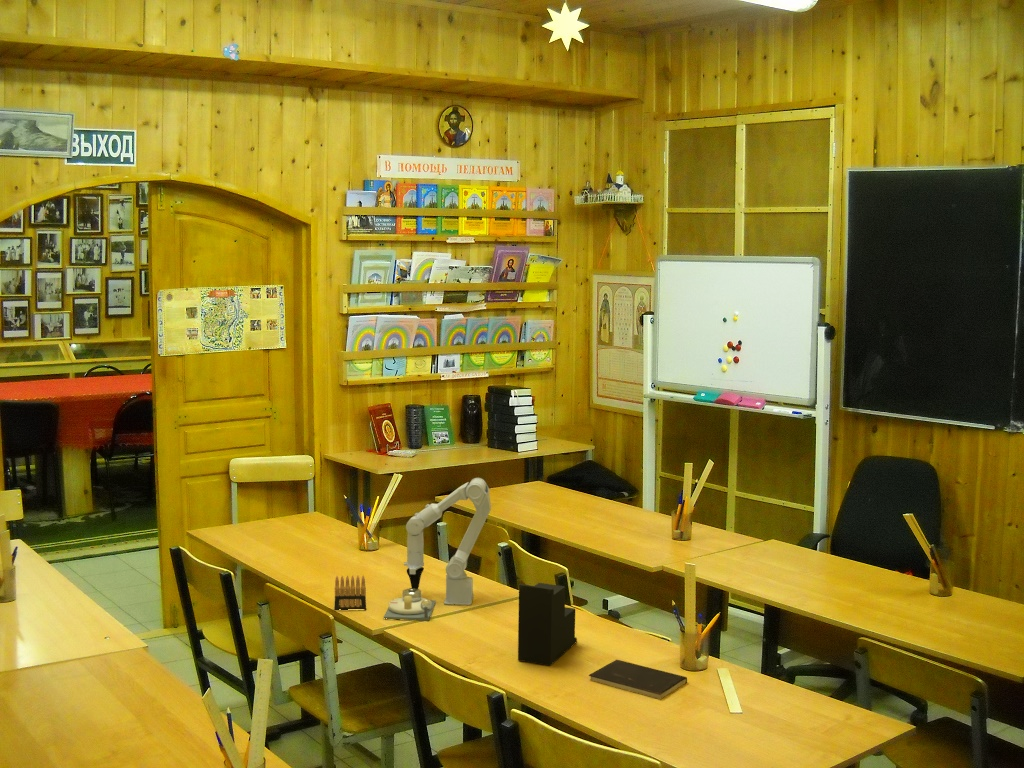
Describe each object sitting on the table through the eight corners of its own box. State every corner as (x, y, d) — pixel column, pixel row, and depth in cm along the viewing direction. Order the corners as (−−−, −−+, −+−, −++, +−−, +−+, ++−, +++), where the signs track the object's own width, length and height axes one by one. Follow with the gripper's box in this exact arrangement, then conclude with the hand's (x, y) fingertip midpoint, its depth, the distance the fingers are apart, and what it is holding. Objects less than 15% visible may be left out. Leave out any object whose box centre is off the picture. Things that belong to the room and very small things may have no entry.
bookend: (545, 637, 354) (546, 565, 351) (577, 642, 349) (579, 569, 347) (516, 661, 332) (517, 585, 330) (550, 667, 328) (551, 589, 325)
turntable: (433, 601, 385) (433, 586, 384) (428, 614, 370) (428, 598, 370) (392, 600, 385) (392, 585, 385) (385, 613, 371) (385, 597, 370)
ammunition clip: (334, 611, 378) (334, 576, 376) (334, 609, 379) (334, 574, 378) (366, 610, 379) (365, 575, 377) (366, 608, 380) (366, 574, 379)
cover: (422, 597, 385) (422, 586, 384) (419, 602, 378) (420, 591, 378) (403, 596, 385) (403, 585, 385) (401, 602, 379) (401, 591, 378)
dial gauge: (431, 619, 370) (431, 599, 369) (431, 620, 369) (431, 600, 368) (420, 619, 370) (420, 599, 369) (420, 620, 369) (420, 600, 368)
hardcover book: (660, 701, 305) (660, 693, 304) (588, 682, 318) (588, 674, 318) (687, 684, 318) (687, 676, 317) (617, 666, 331) (617, 658, 331)
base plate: (435, 603, 387) (435, 600, 387) (428, 620, 368) (428, 618, 368) (392, 602, 388) (392, 599, 388) (383, 619, 369) (383, 616, 369)
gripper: (406, 545, 396) (406, 582, 397) (400, 556, 382) (400, 594, 383) (426, 545, 396) (426, 583, 397) (421, 556, 381) (421, 595, 383)
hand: (415, 588), depth 390 cm, fingers closed
